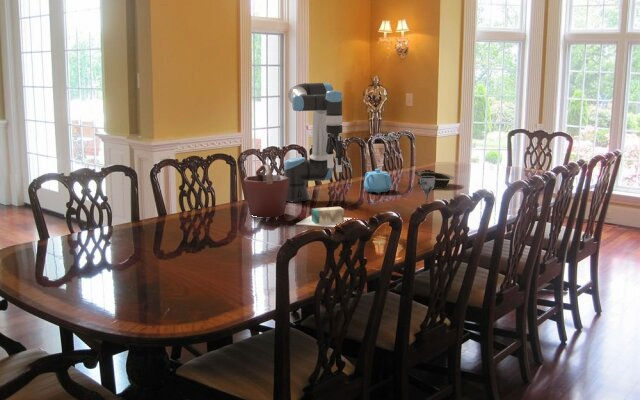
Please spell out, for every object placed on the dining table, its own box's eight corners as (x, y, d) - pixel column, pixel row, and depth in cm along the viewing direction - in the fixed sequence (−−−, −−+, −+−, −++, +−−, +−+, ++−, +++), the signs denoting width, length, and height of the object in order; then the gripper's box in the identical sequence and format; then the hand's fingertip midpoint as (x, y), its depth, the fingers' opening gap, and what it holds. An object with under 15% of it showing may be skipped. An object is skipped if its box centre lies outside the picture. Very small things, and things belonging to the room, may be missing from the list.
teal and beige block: (343, 221, 323) (315, 223, 319) (339, 218, 329) (311, 220, 325) (343, 209, 322) (315, 210, 318) (339, 206, 328) (311, 208, 324)
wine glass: (434, 206, 356) (434, 178, 354) (418, 206, 358) (419, 178, 355) (434, 204, 364) (435, 176, 361) (419, 203, 366) (420, 175, 363)
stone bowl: (407, 183, 427) (408, 169, 426) (444, 184, 434) (445, 170, 432) (422, 189, 404) (424, 174, 402) (461, 190, 410) (462, 175, 409)
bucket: (248, 210, 354) (246, 162, 349) (290, 209, 354) (289, 161, 349) (243, 220, 330) (241, 169, 325) (289, 219, 330) (288, 168, 325)
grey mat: (296, 224, 319) (296, 223, 319) (311, 215, 338) (311, 215, 338) (344, 228, 311) (344, 227, 311) (358, 219, 329) (358, 218, 329)
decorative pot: (364, 189, 411) (364, 167, 409) (391, 189, 409) (391, 166, 407) (363, 194, 395) (363, 171, 393) (391, 194, 393) (391, 171, 391)
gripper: (350, 126, 306) (350, 173, 310) (334, 122, 329) (334, 166, 333) (334, 127, 304) (334, 174, 308) (319, 122, 327) (319, 166, 331)
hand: (334, 170), depth 321 cm, fingers open, 13 cm apart
